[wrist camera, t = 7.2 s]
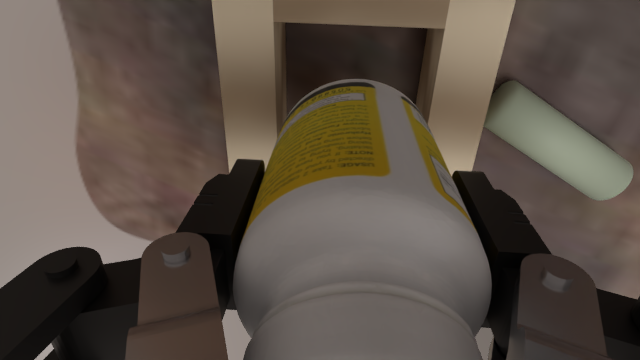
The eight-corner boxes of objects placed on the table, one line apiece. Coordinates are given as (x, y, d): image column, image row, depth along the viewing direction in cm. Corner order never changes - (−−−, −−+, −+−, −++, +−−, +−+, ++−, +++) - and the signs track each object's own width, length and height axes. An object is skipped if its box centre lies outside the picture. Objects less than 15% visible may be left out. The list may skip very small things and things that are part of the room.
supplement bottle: (259, 181, 15) (146, 476, 7) (313, 47, 12) (240, 253, 4) (385, 230, 16) (428, 548, 7) (460, 114, 13) (661, 403, 5)
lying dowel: (476, 106, 21) (480, 134, 20) (515, 71, 20) (523, 99, 18) (579, 176, 23) (591, 208, 21) (623, 150, 21) (640, 183, 20)
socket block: (230, -51, 18) (206, -51, 15) (495, -42, 17) (526, -41, 14) (247, 175, 24) (233, 208, 21) (444, 187, 24) (458, 221, 21)
